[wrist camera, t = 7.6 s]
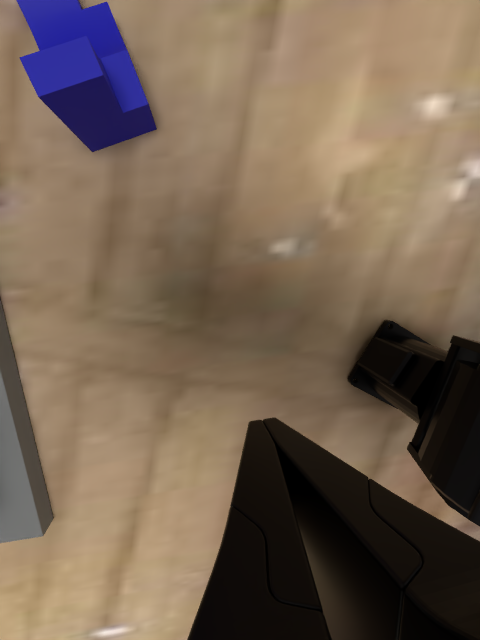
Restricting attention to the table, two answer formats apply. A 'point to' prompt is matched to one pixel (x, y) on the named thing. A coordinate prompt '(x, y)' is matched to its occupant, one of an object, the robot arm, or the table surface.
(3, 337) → the rail board
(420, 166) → the table surface
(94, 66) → the blue cradle stand
